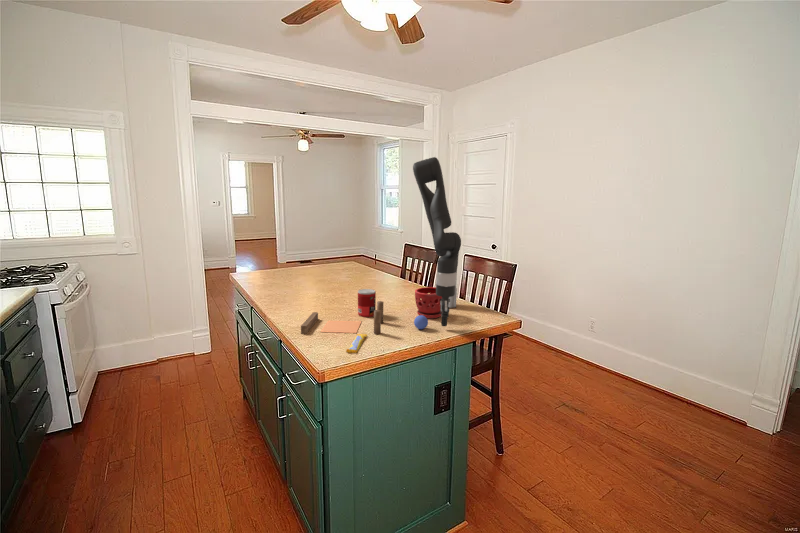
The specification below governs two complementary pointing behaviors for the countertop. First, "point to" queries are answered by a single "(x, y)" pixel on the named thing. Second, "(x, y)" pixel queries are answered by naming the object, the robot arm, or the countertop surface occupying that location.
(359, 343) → the candy bar
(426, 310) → the plant pot
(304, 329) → the strip
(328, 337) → the countertop surface
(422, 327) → the ball
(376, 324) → the post
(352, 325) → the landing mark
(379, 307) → the post
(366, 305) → the canned food
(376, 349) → the countertop surface
